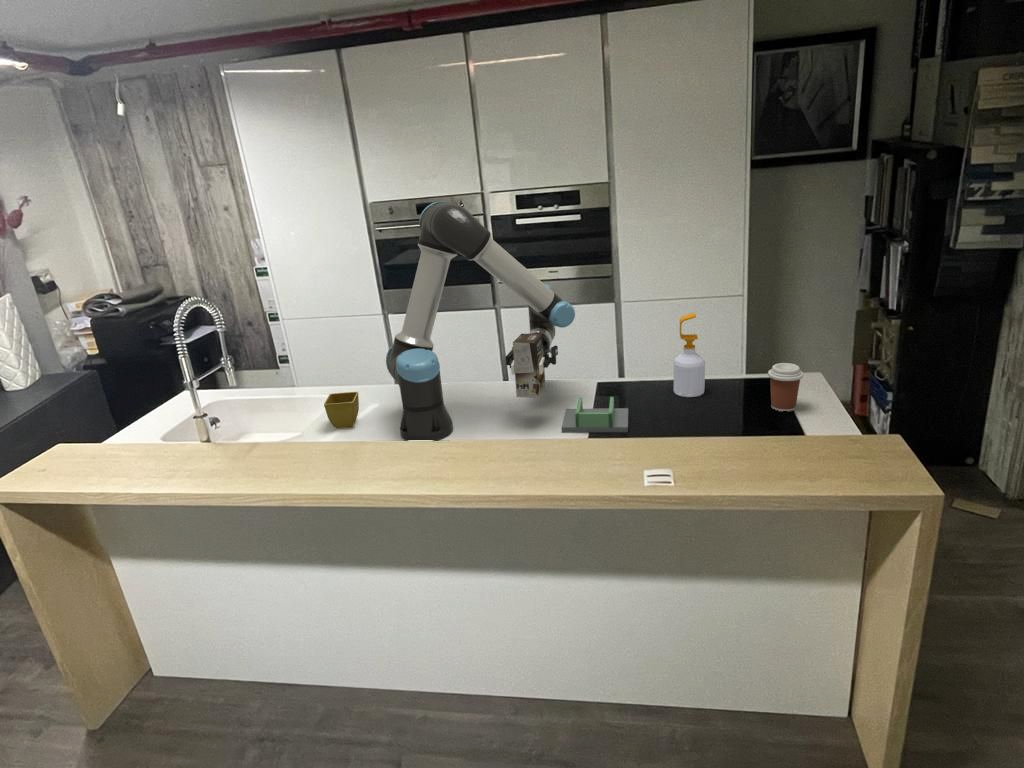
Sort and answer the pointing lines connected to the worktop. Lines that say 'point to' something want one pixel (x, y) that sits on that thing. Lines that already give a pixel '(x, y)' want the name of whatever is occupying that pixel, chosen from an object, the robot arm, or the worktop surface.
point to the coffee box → (528, 365)
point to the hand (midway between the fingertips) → (526, 369)
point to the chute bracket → (595, 419)
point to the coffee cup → (784, 386)
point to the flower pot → (342, 409)
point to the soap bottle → (689, 367)
